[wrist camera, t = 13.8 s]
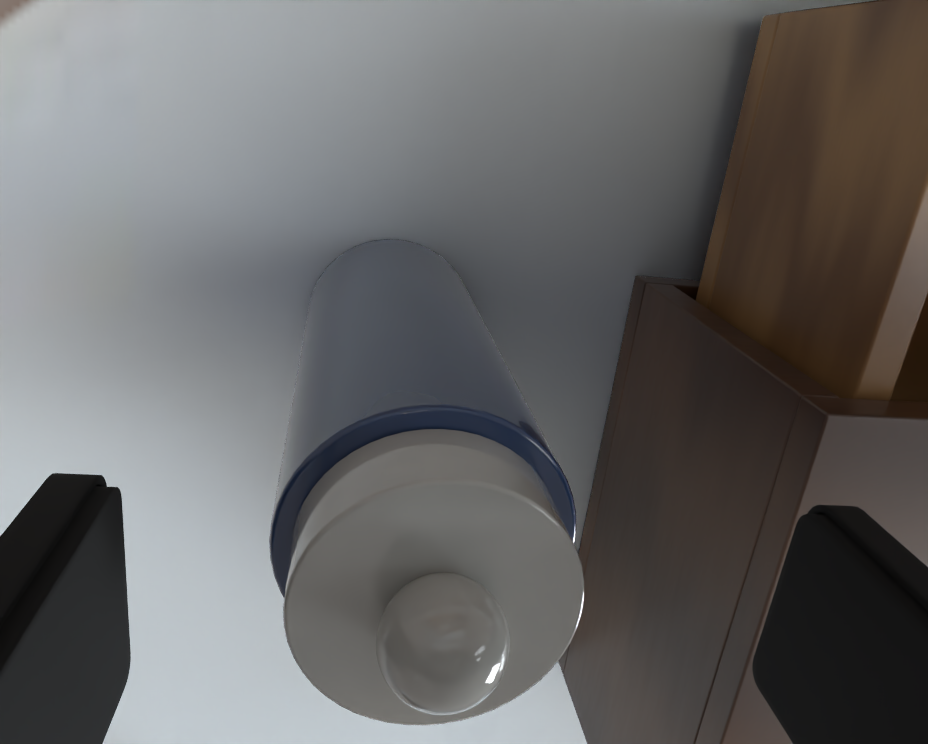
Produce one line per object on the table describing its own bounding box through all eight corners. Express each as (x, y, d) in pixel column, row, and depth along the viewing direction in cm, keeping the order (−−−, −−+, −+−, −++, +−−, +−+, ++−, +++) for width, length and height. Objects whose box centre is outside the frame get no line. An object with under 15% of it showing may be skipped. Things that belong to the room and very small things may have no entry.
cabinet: (634, 274, 21) (827, 414, 12) (1020, 306, 23) (1403, 443, 15) (556, 658, 26) (656, 942, 17) (879, 654, 28) (1107, 905, 19)
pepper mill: (479, 246, 20) (684, 525, 8) (461, 396, 21) (606, 825, 9) (311, 231, 19) (245, 516, 7) (304, 388, 21) (241, 844, 8)
